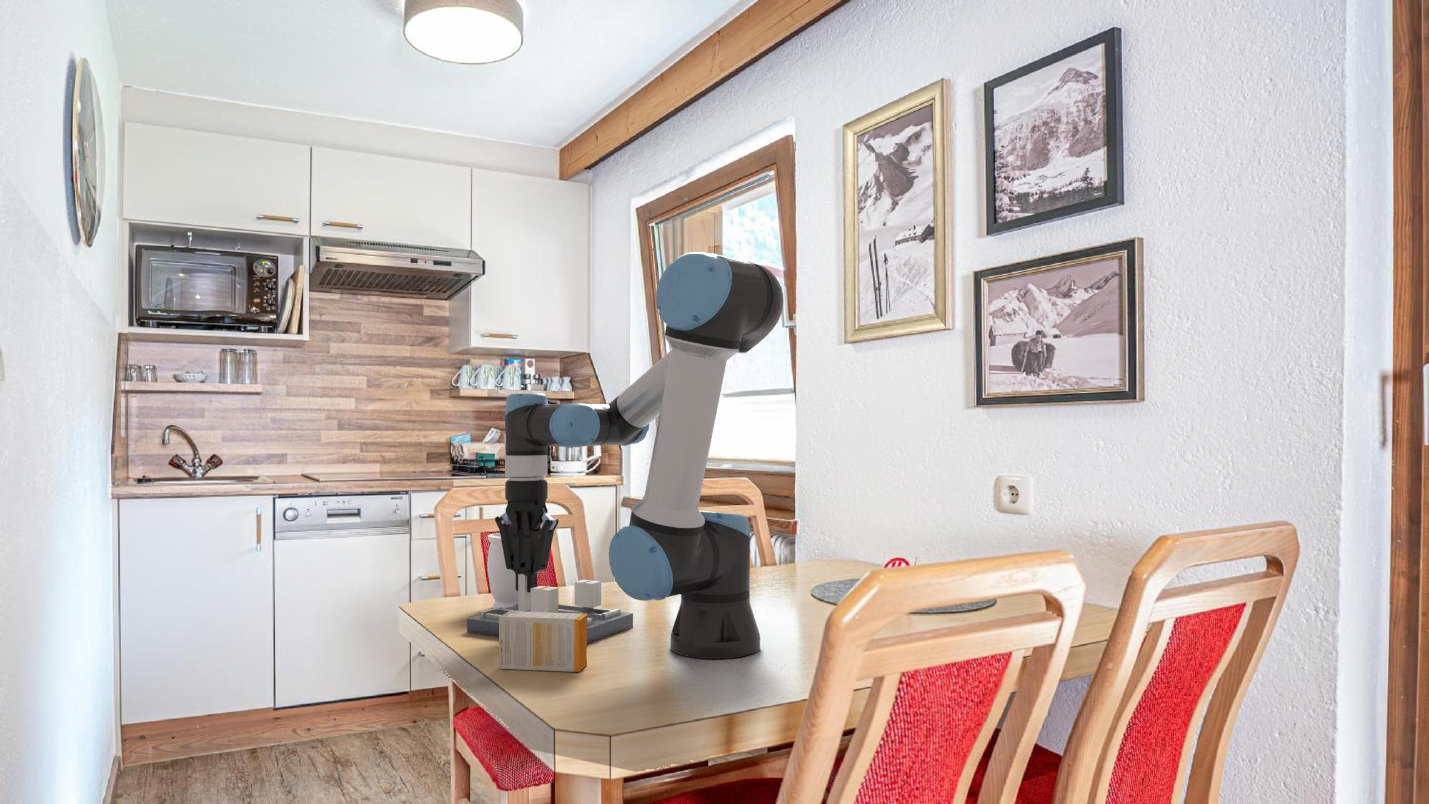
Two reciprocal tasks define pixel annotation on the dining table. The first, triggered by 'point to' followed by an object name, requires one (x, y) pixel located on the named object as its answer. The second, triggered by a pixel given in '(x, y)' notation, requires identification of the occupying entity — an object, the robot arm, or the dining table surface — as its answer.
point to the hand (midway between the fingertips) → (526, 609)
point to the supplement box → (543, 641)
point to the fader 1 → (545, 599)
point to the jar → (500, 575)
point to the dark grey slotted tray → (597, 621)
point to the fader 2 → (587, 594)
